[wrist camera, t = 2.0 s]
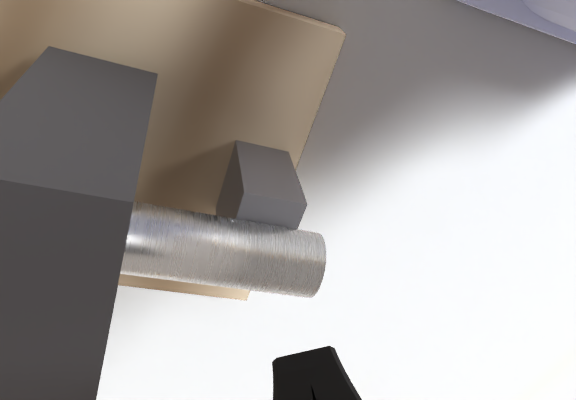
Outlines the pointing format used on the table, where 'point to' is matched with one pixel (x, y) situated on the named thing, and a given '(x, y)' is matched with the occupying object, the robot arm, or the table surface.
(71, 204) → the tall grey prism
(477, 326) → the table surface
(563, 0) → the robot arm
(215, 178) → the pipe rig
